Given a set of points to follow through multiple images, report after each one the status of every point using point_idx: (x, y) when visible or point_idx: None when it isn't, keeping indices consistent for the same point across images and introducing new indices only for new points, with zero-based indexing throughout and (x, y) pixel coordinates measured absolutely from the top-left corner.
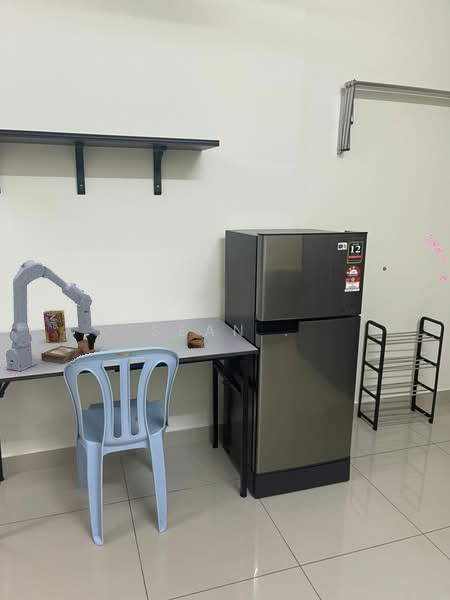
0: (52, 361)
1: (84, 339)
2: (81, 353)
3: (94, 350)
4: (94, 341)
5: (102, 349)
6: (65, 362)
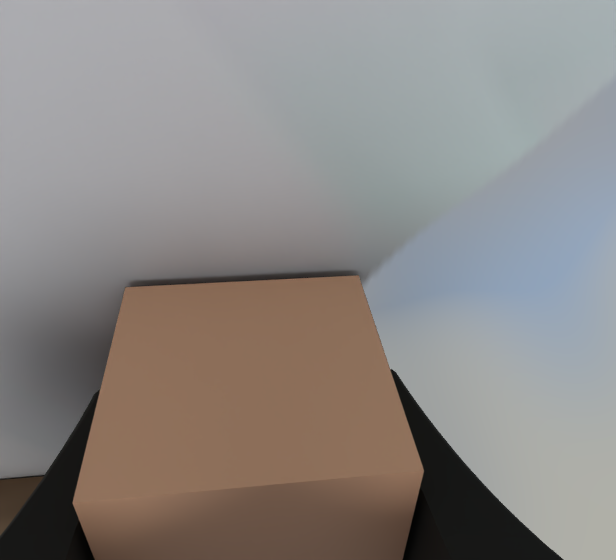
0: None
1: (85, 520)
2: None
3: (358, 280)
4: (489, 508)
5: (455, 108)
6: None
